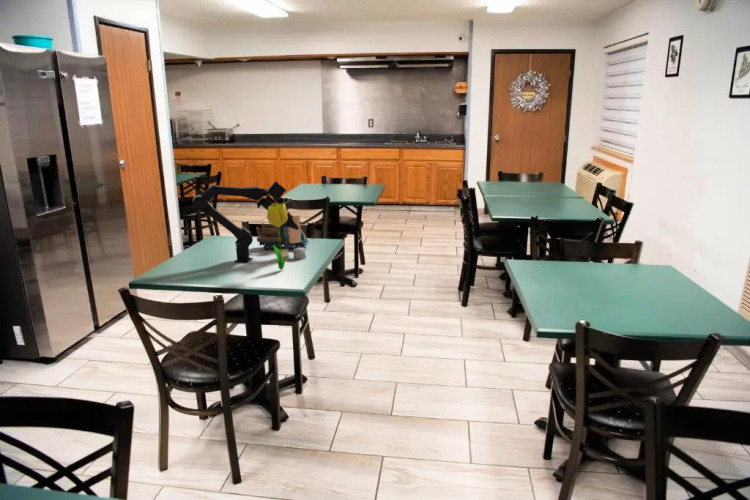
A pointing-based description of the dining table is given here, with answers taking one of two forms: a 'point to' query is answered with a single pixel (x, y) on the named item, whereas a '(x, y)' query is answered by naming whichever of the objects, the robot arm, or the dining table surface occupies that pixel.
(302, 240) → the toy truck
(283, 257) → the beech cube
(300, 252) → the grey domed cylinder
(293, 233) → the peach block
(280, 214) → the flower
